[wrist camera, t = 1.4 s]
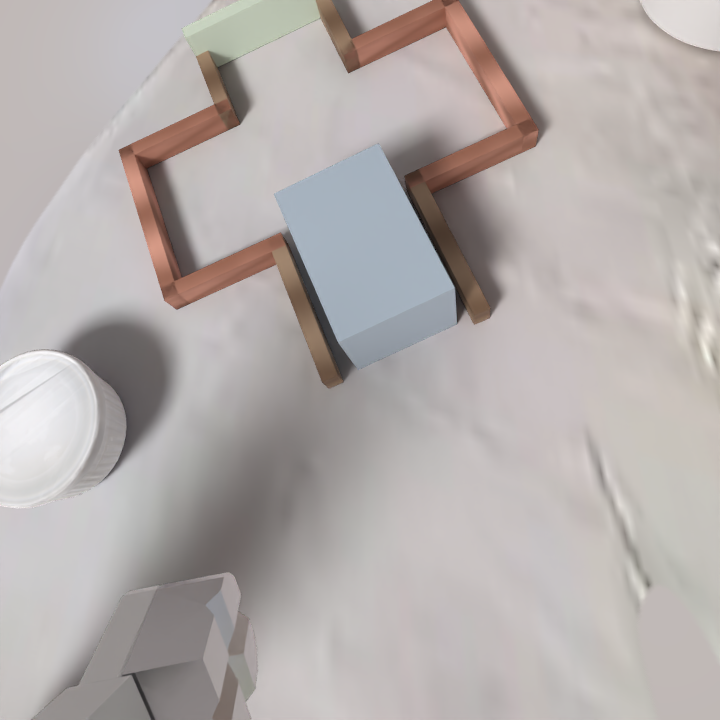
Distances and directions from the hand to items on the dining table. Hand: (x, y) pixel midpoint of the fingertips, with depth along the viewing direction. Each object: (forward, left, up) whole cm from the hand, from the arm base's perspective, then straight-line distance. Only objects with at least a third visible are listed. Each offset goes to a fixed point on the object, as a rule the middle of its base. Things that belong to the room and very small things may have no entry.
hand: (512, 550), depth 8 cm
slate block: (-10, -17, -31) cm, 37 cm away
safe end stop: (-24, -40, -31) cm, 56 cm away
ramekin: (+13, -28, -31) cm, 45 cm away
